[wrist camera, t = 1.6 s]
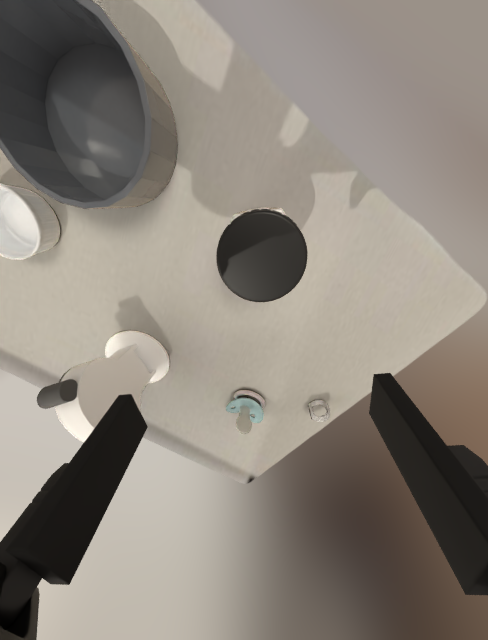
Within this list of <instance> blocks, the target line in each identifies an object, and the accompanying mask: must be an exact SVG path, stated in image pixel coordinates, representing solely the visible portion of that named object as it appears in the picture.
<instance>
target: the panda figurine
mask: <svg viewBox="0 0 488 640" xmlns="http://www.w3.org/2000/svg"><path fill="white" fill-rule="evenodd" d="M105 354H106V358H98V359H95V360H92V361H89V362H86V363H83V364H80V365H77V366H75V367H73V368H71V369H69V370H68V371H67V372H66V373H65V374H64V375H63V376H62V378H61V379H60V381H59V383H56V384H53V385H50V386H47V387H44V388H43V389H42V390H41V391H40V392H39V394H38V397H37V403H38V405H39V406H40V407H41V408H45V409H46V408H51V407H54V406H55V408H56V413H57V416H58V417H59V420H60V421H61V423H62V424H63V426H64V427H65V428H66V429H67V431H69V433H71V434H72V435H73V436H74V437H76V438H77V439H79V440H80V441H82V442H85V441H86V439H87V438H88V437H89V435H90V434H91V432H92V431H93V430H94V428H95V427H96V426H97V424H98V423H99V421H100V420H101V419H102V417H103V416H104V415H105V413H106V412H107V411H108V409H109V408H110V406H111V405H112V404H113V402H114V401H115V400H116V398H117V397H118V395H125V394H132V396H133V398H134V400H135V402H136V405H137V407H138V409H139V411H140V409H141V394H142V392H143V390H144V389H145V387H146V385H147V384H148V383H154V382H157V381H159V380H160V379H162V378H163V377H164V376H165V375H166V373H167V371H168V369H169V365H170V361H169V356H168V353H167V351H166V350H165V348H164V347H163V345H162V344H161V343H160V342H159V341H157V340H156V339H155V338H153V337H152V336H150V335H148V334H146V333H143V332H139V331H133V330H128V331H122V332H119V333H117V334H115V335H114V336H112V337H111V338H110V339H109V341H108V342H107V344H106V348H105Z"/></svg>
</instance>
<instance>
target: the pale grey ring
mask: <svg viewBox="0 0 488 640" xmlns="http://www.w3.org/2000/svg"><path fill="white" fill-rule="evenodd" d="M316 405H322V406H324V407H325V408H326V410H327V413H326V414H324V415H322V416H320V417H319V416H316V415H314V411H313V407H314V406H316ZM308 407H309V411H310V415H311V419H312V420H315V421H318V422H319V421H320V422H323V421H326V420H328V419H329V418H330V408H329V406H328V404H327V403H326V402H325V401H322V400H314V401H312V402H311V403H310V404H308Z"/></svg>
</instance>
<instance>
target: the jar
mask: <svg viewBox="0 0 488 640" xmlns="http://www.w3.org/2000/svg"><path fill="white" fill-rule="evenodd" d="M306 264H307V246H306V242H305V239H304V237H303V235H302V233H301V231H300V229H299V228H298V227H297V226H296V224H295V223H294V222H293V221H292V220H291V219H290V218H289V217H287V215H286V213H285V212H284V210H283V209H282V208H276V207H273V208H268V207H266V208H257V209H250V210H246V211H241V212H239V213H236V214H234V215H233V216H232V219H231V222H230V224H229V225H228V226H227V227H226V229H225V230H224V232H223V234H222V236H221V238H220V241H219V244H218V248H217V266H218V270H219V273H220V276H221V278H222V280H223V281H224V283H225V284H226V286H227V287H228V288H229V289H230V290H231V291H232V292H233V293H235V294H236V295H238V296H239V297H241V298H243V299H246V300H249V301H253V302H268V301H273V300H276V299H279V298H281V297H283V296H285V295H286V294H288V293H289V292H290V291H291V290H292V289H293V288H294V287H295V286H296V285H297V284H298V283H299V281H300V279H301V278H302V276H303V274H304V271H305V268H306Z"/></svg>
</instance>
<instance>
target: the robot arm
mask: <svg viewBox="0 0 488 640" xmlns="http://www.w3.org/2000/svg"><path fill="white" fill-rule="evenodd" d="M369 414H370V415H371V418H372V419H373V421H374V423H375V425H376V427H377V429H378V431H379V433H380V434H381V436H382V438H383V440H384V442H385V444H386V446H387V448H388V450H389V451H390V453H391V455H392V457H393V459H394V461H395V463H396V465H397V466H398V468H399V470H400V472H401V474H402V476H403V477H404V479H405V482H406V483H407V485H408V487H409V489H410V491H411V492H412V495H413V497H414V498H415V500H416V502H417V504H418V506H419V508H420V510H421V512H422V514H423V515H424V517H425V519H426V521H427V523H428V525H429V526H430V529H431V530H432V532H433V534H434V536H435V538H436V540H437V542H438V543H439V545H440V547H441V549H442V551H443V553H444V555H445V557H446V559H447V560H448V562H449V564H450V566H451V568H452V570H453V572H454V574H455V576H456V577H457V579H458V581H459V583H460V585H461V587H462V589H463V591H464V592H465V594H466V595H488V466H487V465H486V463H485V462H484V461H483V460H482V459H481V458H480V457H479V456H477V455H476V454H474V453H473V452H472V451H470V450H469V449H468V448H466V447H465V446H464V445H456V446H447V445H446V444H445V443H444V442H443V440H442V439H441V438H440V436H439V435H438V434H437V433H436V431H435V430H434V429H433V427H432V426H431V425H430V424H429V422H428V421H427V420H426V418H425V417H424V416H423V415H422V413H421V412H420V411H419V409H418V408H417V407H416V406H415V404H414V403H413V402H412V401H411V399H410V398H409V397H408V396H407V394H406V393H405V392H404V390H403V389H402V388H401V386H400V385H399V384H398V383H397V381H396V380H395V379H394V378H393V376H392V375H391V374H390V373H385V374H374V377H373V386H372V394H371V403H370V411H369ZM146 429H147V425H146V423H145V421H144V419H143V417H142V415H141V413H140V411H139V409H138V407H137V405H136V402H135V400H134V398H133V396H132V394H125V395H118V397H117V398H116V400H115V401H114V402H113V404H112V405H111V406H110V408H109V409H108V411H107V412H106V413H105V415H104V416H103V417H102V419H101V420H100V421H99V423H98V424H97V426H96V427H95V428H94V430H93V431H92V432H91V434H90V435H89V437H88V438H87V439H86V441H85V442H84V443H83V445H82V446H81V448H80V449H79V450H78V452H77V453H76V454H75V456H74V457H73V459H72V460H71V461H70V463H65V464H63V465H62V466H61V467H60V468H59V469H58V470H57V471H56V472H55V473H53V474H52V475H51V477H50V478H49V479H48V480H47V482H46V483H45V484H44V486H43V487H42V488H41V491H40V492H38V494H37V495H36V496H35V498H34V499H33V501H32V503H30V504H29V505H28V507H27V508H26V509H25V511H24V512H23V513H22V515H21V516H20V517H19V518H18V520H17V521H16V523H15V524H14V525H13V526H12V528H11V529H10V530H9V532H8V533H7V534H6V536H5V537H4V538H3V540H2V541H1V542H0V640H36V637H37V621H38V606H39V590H38V588H37V586H38V584H39V582H40V580H41V579H42V578H43V579H44V580H46V581H47V582H49V583H50V584H67V585H69V584H70V582H71V580H72V578H73V576H74V574H75V572H76V570H77V568H78V566H79V564H80V562H81V560H82V558H83V556H84V554H85V552H86V550H87V548H88V546H89V544H90V542H91V540H92V538H93V536H94V534H95V532H96V530H97V528H98V526H99V524H100V522H101V520H102V518H103V516H104V514H105V512H106V510H107V508H108V506H109V504H110V502H111V500H112V498H113V496H114V493H115V492H116V490H117V488H118V486H119V484H120V482H121V480H122V478H123V475H124V473H125V471H126V469H127V467H128V465H129V463H130V461H131V459H132V457H133V455H134V453H135V451H136V449H137V447H138V445H139V443H140V441H141V439H142V437H143V435H144V433H145V431H146Z"/></svg>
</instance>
